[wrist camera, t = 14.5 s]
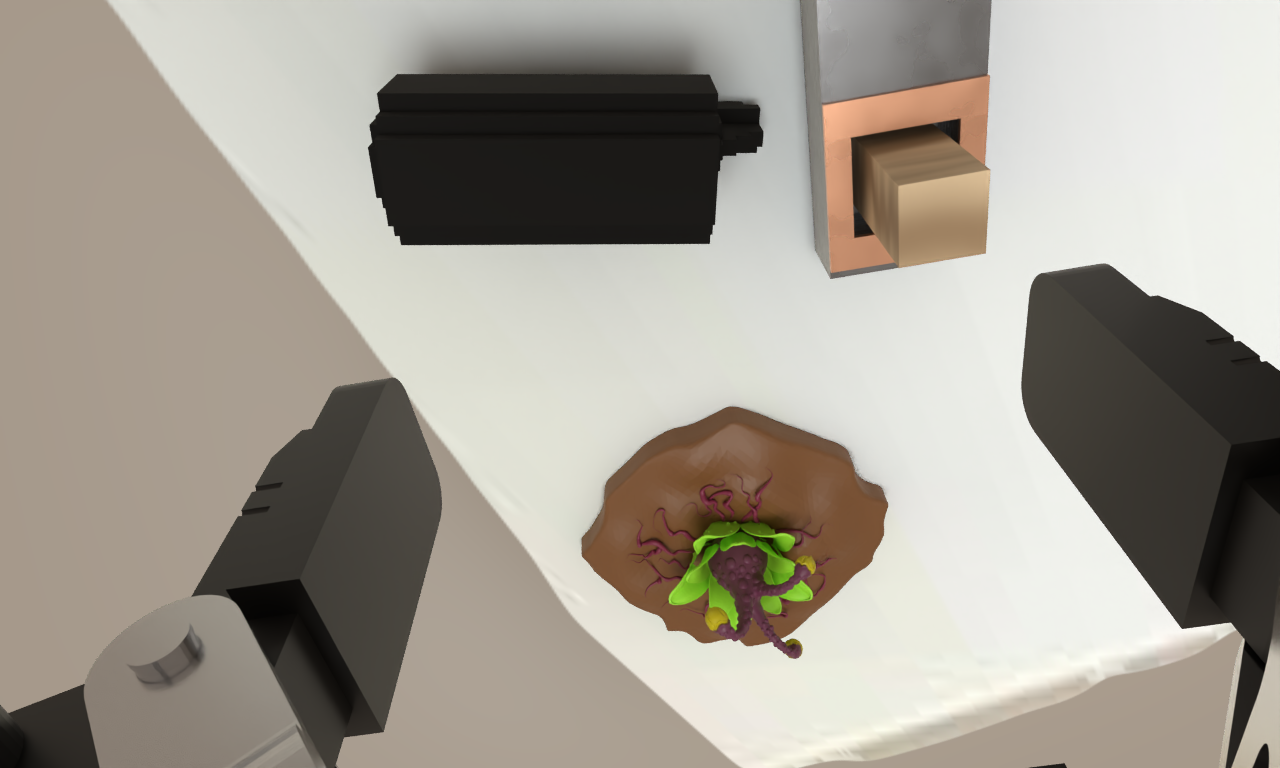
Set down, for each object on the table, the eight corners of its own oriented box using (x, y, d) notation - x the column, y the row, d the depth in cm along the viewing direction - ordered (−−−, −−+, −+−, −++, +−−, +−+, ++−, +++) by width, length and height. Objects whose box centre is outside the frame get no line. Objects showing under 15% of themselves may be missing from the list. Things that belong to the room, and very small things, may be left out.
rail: (785, -255, 36) (804, -268, 32) (970, -293, 35) (1011, -312, 32) (815, 250, 49) (831, 281, 45) (951, 227, 48) (979, 256, 44)
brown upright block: (848, 130, 44) (898, 185, 36) (924, 116, 44) (990, 169, 36) (851, 201, 46) (898, 268, 38) (923, 189, 46) (985, 253, 38)
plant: (709, 360, 53) (730, 467, 43) (921, 493, 59) (980, 612, 50) (543, 549, 61) (530, 674, 52) (745, 648, 68) (766, 776, 58)
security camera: (749, 185, 46) (779, 256, 38) (420, 186, 46) (376, 258, 37) (759, 55, 43) (795, 102, 34) (402, 55, 42) (349, 102, 34)
